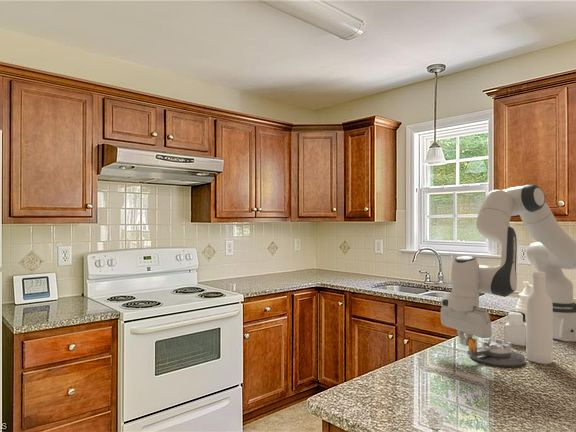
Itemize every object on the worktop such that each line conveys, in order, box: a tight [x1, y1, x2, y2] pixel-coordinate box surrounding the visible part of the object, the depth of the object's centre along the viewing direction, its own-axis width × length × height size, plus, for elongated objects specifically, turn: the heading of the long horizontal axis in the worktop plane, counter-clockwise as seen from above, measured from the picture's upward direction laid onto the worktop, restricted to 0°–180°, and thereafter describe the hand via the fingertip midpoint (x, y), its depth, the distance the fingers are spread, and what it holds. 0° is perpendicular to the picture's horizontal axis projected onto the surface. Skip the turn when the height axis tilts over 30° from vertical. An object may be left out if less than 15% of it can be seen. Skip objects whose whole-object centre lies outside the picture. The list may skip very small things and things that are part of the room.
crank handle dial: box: [466, 337, 512, 358], centre depth 146 cm, size 17×9×6 cm, turn 113°
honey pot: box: [515, 280, 533, 322], centre depth 209 cm, size 13×13×18 cm
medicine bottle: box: [503, 310, 526, 347], centre depth 168 cm, size 7×7×12 cm
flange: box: [469, 346, 526, 368], centre depth 148 cm, size 17×17×2 cm
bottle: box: [525, 271, 554, 365], centre depth 147 cm, size 8×8×30 cm
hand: (464, 344), depth 147 cm, fingers closed
